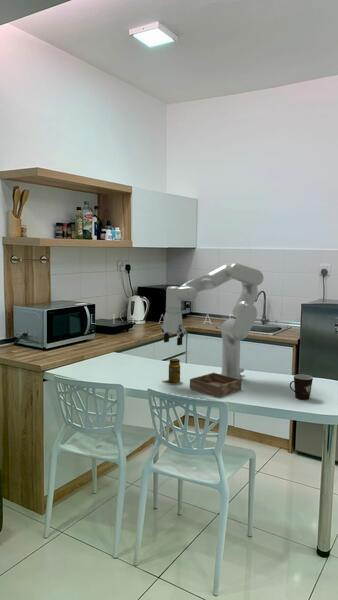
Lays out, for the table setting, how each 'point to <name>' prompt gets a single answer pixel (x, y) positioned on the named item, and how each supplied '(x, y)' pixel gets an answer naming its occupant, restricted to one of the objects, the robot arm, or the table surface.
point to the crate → (215, 384)
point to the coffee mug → (302, 386)
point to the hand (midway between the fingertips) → (172, 343)
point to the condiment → (174, 372)
